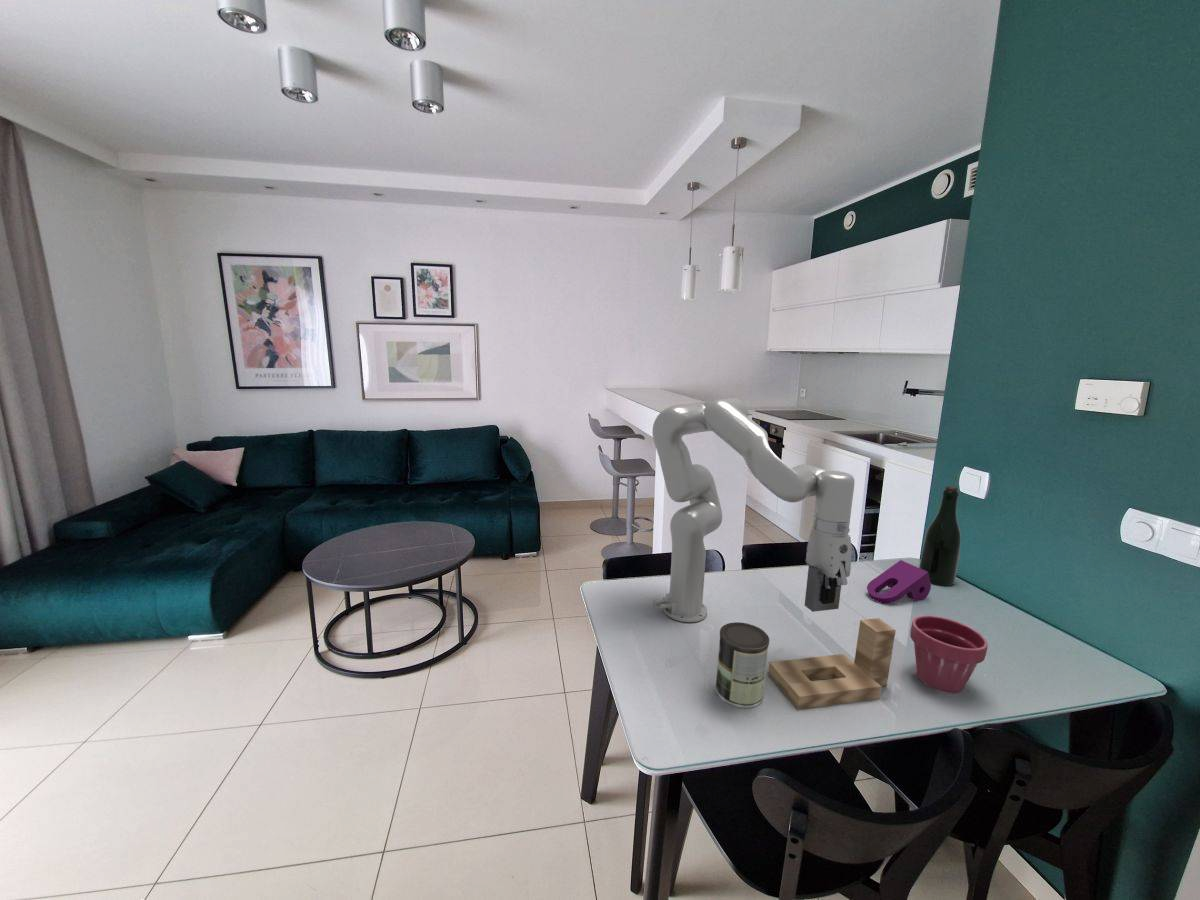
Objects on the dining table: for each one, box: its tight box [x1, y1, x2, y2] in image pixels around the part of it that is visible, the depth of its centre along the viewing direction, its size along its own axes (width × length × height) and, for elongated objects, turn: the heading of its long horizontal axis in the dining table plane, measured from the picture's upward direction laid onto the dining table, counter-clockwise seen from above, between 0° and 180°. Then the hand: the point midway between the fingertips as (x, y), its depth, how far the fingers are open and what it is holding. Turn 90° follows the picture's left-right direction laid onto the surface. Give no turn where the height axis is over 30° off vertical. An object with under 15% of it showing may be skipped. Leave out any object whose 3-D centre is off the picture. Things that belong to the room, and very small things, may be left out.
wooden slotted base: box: [767, 617, 897, 710], centre depth 111 cm, size 25×12×14 cm, turn 102°
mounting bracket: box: [866, 559, 932, 604], centre depth 156 cm, size 9×8×18 cm
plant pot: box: [909, 615, 989, 694], centre depth 114 cm, size 14×14×13 cm
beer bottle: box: [918, 485, 962, 587], centre depth 165 cm, size 10×10×33 cm
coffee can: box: [714, 621, 770, 709], centre depth 107 cm, size 10×10×14 cm
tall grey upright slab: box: [804, 566, 842, 613], centre depth 116 cm, size 7×3×10 cm, turn 103°
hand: (822, 598), depth 116 cm, fingers closed on tall grey upright slab, 3 cm apart
